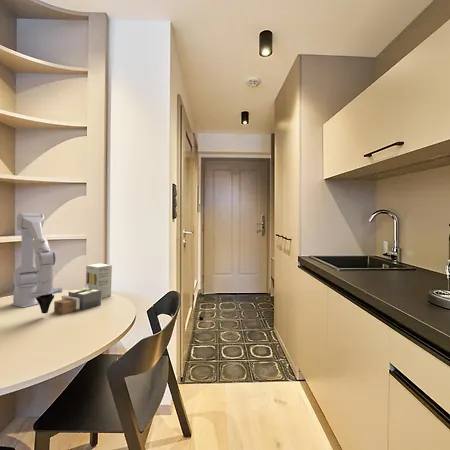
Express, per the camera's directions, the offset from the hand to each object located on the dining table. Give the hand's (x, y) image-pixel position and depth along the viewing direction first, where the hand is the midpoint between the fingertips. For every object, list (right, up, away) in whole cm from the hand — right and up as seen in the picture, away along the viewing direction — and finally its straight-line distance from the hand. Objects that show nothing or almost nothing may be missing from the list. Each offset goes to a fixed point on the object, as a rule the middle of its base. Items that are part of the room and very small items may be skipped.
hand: (44, 312), depth 132 cm
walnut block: (+4, -2, +8) cm, 9 cm away
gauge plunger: (+8, 0, +15) cm, 17 cm away
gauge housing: (+9, -2, +18) cm, 20 cm away
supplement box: (+8, -1, +35) cm, 36 cm away
